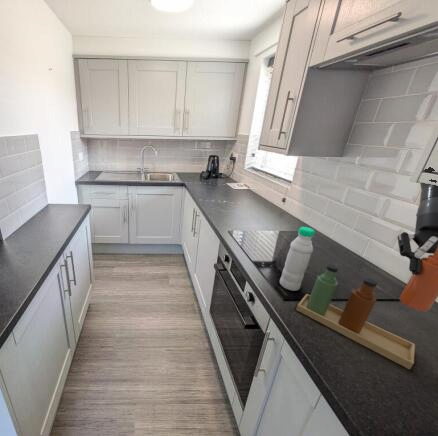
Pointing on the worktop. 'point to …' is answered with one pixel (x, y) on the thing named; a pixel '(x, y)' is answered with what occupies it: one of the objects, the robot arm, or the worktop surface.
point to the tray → (366, 335)
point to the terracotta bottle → (423, 285)
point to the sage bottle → (323, 291)
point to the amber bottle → (359, 306)
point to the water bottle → (297, 260)
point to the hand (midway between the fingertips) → (434, 278)
